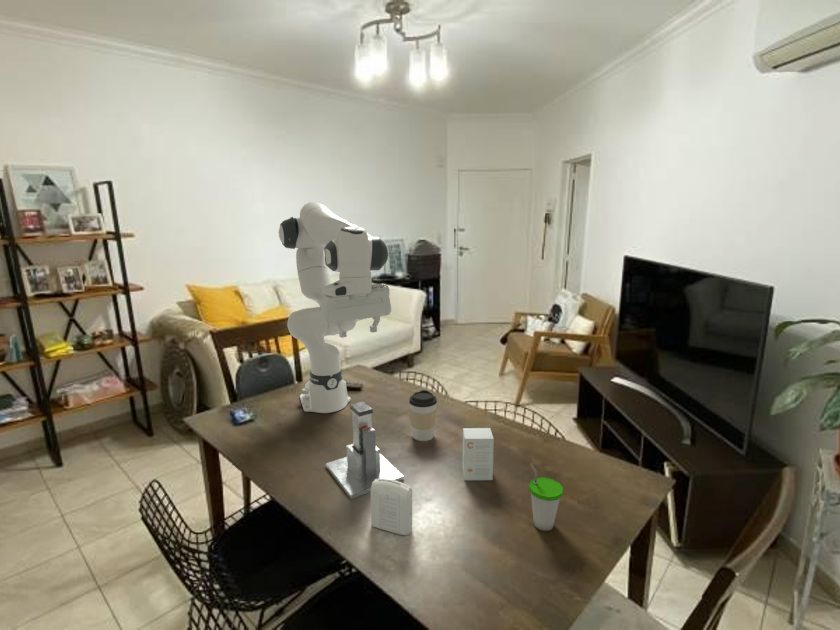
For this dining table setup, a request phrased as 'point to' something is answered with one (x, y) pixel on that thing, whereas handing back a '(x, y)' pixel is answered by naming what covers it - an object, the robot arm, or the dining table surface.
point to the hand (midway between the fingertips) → (358, 334)
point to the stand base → (362, 467)
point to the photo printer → (391, 506)
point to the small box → (478, 454)
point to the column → (360, 423)
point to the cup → (544, 501)
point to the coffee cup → (423, 415)
